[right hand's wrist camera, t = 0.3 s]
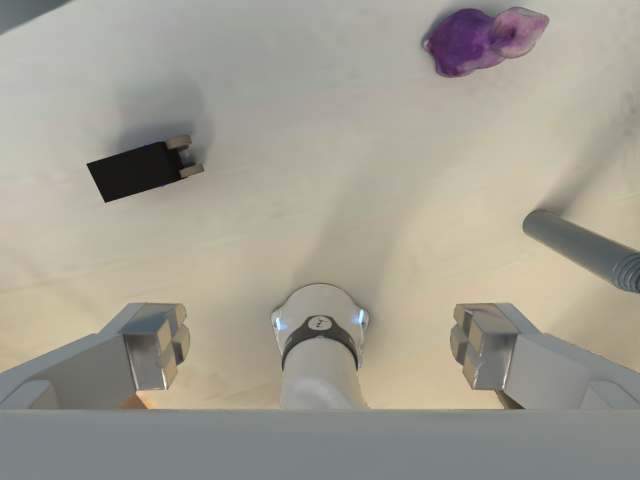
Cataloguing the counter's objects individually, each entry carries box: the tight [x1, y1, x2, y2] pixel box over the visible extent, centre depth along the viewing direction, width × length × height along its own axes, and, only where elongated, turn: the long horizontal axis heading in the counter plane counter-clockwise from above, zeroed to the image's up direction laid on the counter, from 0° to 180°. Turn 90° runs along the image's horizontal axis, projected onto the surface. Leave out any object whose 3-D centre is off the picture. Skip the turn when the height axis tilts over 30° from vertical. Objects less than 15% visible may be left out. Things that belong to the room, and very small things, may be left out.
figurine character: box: [86, 135, 204, 203], centre depth 53 cm, size 7×8×15 cm
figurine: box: [423, 7, 549, 77], centre depth 43 cm, size 9×10×15 cm
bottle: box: [523, 210, 640, 294], centre depth 48 cm, size 5×5×25 cm
